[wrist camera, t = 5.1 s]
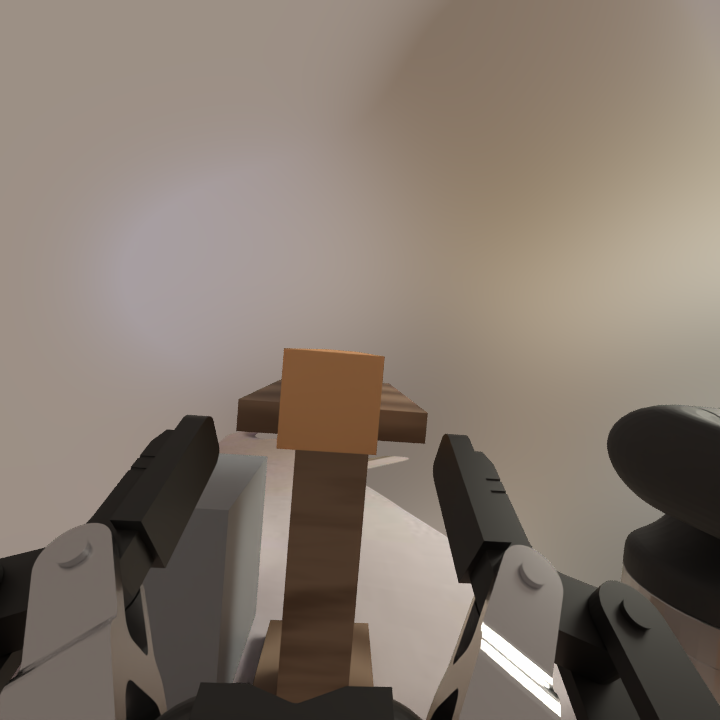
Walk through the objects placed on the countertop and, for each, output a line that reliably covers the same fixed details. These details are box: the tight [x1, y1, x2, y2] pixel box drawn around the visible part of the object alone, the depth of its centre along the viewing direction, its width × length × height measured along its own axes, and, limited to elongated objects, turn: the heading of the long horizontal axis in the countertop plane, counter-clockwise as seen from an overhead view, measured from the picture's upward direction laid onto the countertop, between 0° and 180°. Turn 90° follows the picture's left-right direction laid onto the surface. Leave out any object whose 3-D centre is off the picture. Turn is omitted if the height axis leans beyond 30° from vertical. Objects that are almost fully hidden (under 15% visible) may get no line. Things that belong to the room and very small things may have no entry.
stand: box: [236, 379, 428, 703], centre depth 28 cm, size 17×12×32 cm
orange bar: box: [277, 348, 385, 455], centre depth 22 cm, size 24×4×4 cm, turn 3°
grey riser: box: [143, 453, 267, 711], centre depth 32 cm, size 13×10×21 cm
